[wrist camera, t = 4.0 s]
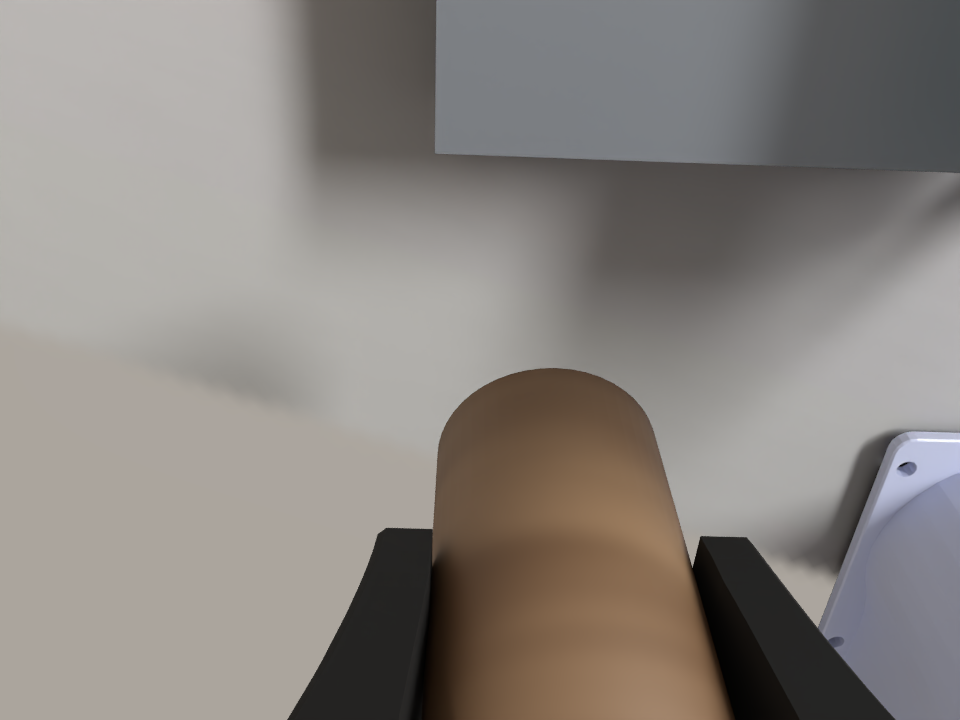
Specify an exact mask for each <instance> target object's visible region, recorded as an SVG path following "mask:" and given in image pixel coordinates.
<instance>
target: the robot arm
mask: <svg viewBox="0 0 960 720" xmlns="http://www.w3.org/2000/svg"><path fill="white" fill-rule="evenodd" d="M904 462H908V464H906V465H904V466H903V467H899V465H901V464H903V463H904ZM432 543H433V529H404V528H386V529H384V530H383V531H382V532H380V533H379V534H378V536H377V539H376V542H375V546H374V549H373V552H372V555H371V557H370V561H369V563H368V566H367V568H366V571H365V573H364V576H363V578H362V581H361V583H360V585H359V587H358V590H357V592H356V594H355V596H354V598H353V601H352V603H351V605H350V607H349V609H348V611H347V614H346V615H345V617H344V619H343V621H342V623H341V625H340V627H339V629H338V631H337V633H336V635H335V637H334V639H333V641H332V643H331V644H330V646H329V648H328V650H327V652H326V655H325V656H324V658H323V660H322V662H321V664H320V665H319V667H318V669H317V671H316V673H315V674H314V676H313V678H312V679H311V681H310V683H309V685H308V686H307V688H306V690H305V691H304V693H303V694H302V696H301V698H300V700H299V701H298V703H297V705H296V706H295V708H294V710H293V711H292V713H291V715H290V716H289V718H288V720H421V717H422V701H423V685H424V669H425V657H426V645H427V637H428V629H429V613H430V596H431V579H432ZM693 572H694V576H695V579H696V583H697V586H698V590H699V593H700V597H701V600H702V604H703V607H704V611H705V614H706V618H707V621H708V625H709V628H710V632H711V635H712V639H713V642H714V646H715V649H716V653H717V656H718V660H719V663H720V667H721V671H722V674H723V678H724V681H725V685H726V688H727V692H728V695H729V699H730V702H731V706H732V709H733V713H734V716H735V720H960V433H949V432H915V431H913V432H905V433H903V434H900V435H898V436H897V437H895V438H894V439H893V440H892V441H891V443H890V444H889V446H888V448H887V451H886V453H885V456H884V458H883V461H882V464H881V466H880V469H879V471H878V474H877V476H876V479H875V482H874V484H873V487H872V489H871V492H870V495H869V497H868V500H867V502H866V505H865V507H864V510H863V513H862V515H861V518H860V520H859V523H858V526H857V528H856V531H855V533H854V536H853V538H852V541H851V544H850V546H849V549H848V551H847V554H846V557H845V559H844V562H843V564H842V567H841V569H840V572H839V575H838V577H837V580H836V582H835V585H834V587H833V590H832V593H831V596H830V598H829V601H828V603H827V606H826V608H825V611H824V614H823V616H822V619H821V621H820V624H819V626H818V628H817V627H816V625H815V624H814V623H813V622H812V621H811V619H810V618H809V617H808V616H807V614H806V613H805V611H804V610H803V609H802V608H801V607H800V605H799V604H798V603H797V601H796V600H795V599H794V598H793V596H792V595H791V594H790V592H789V591H788V590H787V588H786V587H785V586H784V585H783V583H782V582H781V581H780V579H779V578H778V577H777V575H776V574H775V573H774V572H773V570H772V569H771V568H770V566H769V565H768V564H767V562H766V561H765V560H764V558H763V557H762V556H761V555H760V553H759V552H758V551H757V549H756V548H755V547H754V545H753V544H752V543H751V542H750V541H749V540H748V539H747V538H746V537H709V536H701V537H700V541H699V545H698V549H697V553H696V557H695V561H694V564H693Z"/></svg>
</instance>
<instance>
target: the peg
mask: <svg viewBox="0 0 960 720" xmlns="http://www.w3.org/2000/svg"><path fill="white" fill-rule="evenodd" d="M421 720H735V716H734V713H733V709H732V706H731V702H730V699H729V695H728V692H727V688H726V685H725V681H724V678H723V674H722V671H721V667H720V663H719V660H718V656H717V653H716V649H715V646H714V642H713V639H712V635H711V632H710V628H709V625H708V621H707V618H706V614H705V611H704V607H703V604H702V600H701V597H700V593H699V590H698V586H697V583H696V579H695V576H694V572H693V568H692V565H691V562H690V558H689V554H688V551H687V547H686V544H685V540H684V537H683V533H682V530H681V526H680V523H679V519H678V516H677V512H676V509H675V505H674V502H673V498H672V495H671V491H670V488H669V484H668V481H667V477H666V474H665V470H664V466H663V463H662V459H661V456H660V452H659V449H658V445H657V442H656V438H655V435H654V431H653V428H652V426H651V423H650V421H649V419H648V417H647V415H646V414H645V412H644V410H643V409H642V407H641V406H640V405H639V404H638V403H637V402H636V401H635V399H634V398H632V397H631V396H630V395H629V394H628V393H627V392H625V391H624V390H623V389H621V388H620V387H618V386H616V385H615V384H613V383H611V382H609V381H607V380H605V379H603V378H601V377H598V376H595V375H592V374H589V373H586V372H581V371H576V370H570V369H559V368H546V369H534V370H527V371H522V372H518V373H514V374H510V375H507V376H505V377H502V378H499V379H497V380H495V381H493V382H491V383H489V384H487V385H485V386H483V387H482V388H480V389H479V390H477V391H476V392H474V393H473V394H471V395H470V396H469V397H468V398H467V399H466V400H464V401H463V402H462V403H461V404H460V405H459V407H458V408H457V409H456V410H455V411H454V412H453V414H452V415H451V417H450V418H449V420H448V421H447V423H446V425H445V427H444V430H443V432H442V434H441V438H440V442H439V447H438V458H437V474H436V491H435V507H434V523H433V543H432V579H431V596H430V613H429V629H428V637H427V645H426V657H425V669H424V685H423V701H422V717H421Z"/></svg>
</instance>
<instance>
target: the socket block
mask: <svg viewBox="0 0 960 720" xmlns="http://www.w3.org/2000/svg"><path fill="white" fill-rule="evenodd" d="M435 154H460V155H487V156H515V157H542V158H569V159H597V160H624V161H652V162H679V163H706V164H734V165H761V166H788V167H816V168H843V169H870V170H898V171H925V172H952V173H960V0H436V82H435Z"/></svg>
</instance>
